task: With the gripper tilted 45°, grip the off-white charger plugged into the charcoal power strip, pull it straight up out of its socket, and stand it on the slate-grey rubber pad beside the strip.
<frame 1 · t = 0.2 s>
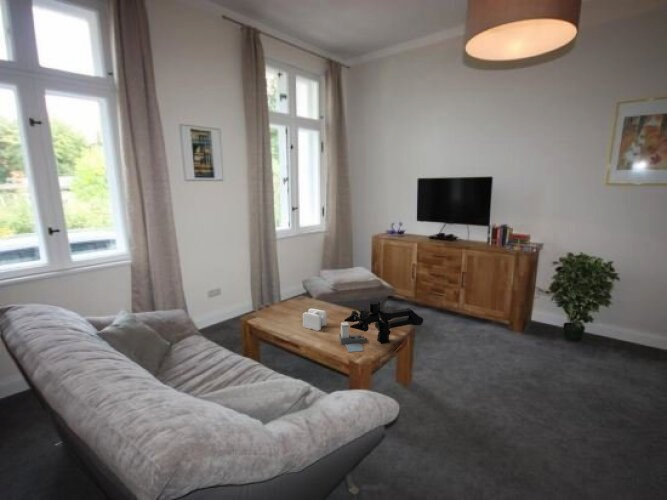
hand: (347, 323, 215), 16 cm above the table, tool horizontal, fingers open, 9 cm apart
charger: (345, 338, 226), point 2 cm above the table, touching power strip
cable organizer: (314, 327, 249), on the table
rubber pad: (354, 347, 219), on the table
power strip: (352, 341, 227), on the table
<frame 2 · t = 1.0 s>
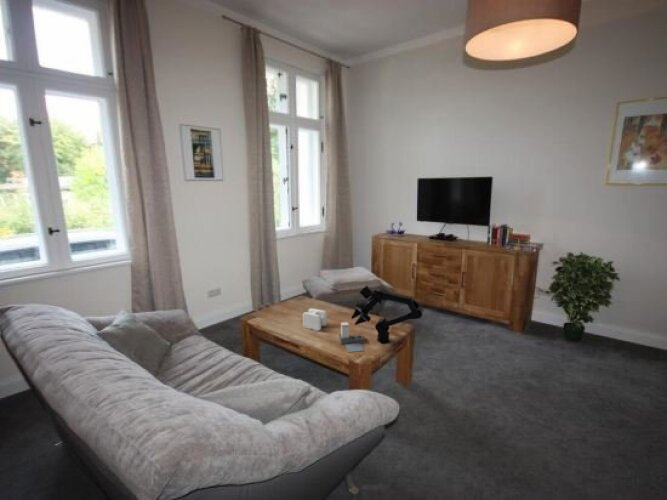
hand: (353, 321, 224), 14 cm above the table, tool tilted 45°, fingers open, 9 cm apart
nothing on the table moved.
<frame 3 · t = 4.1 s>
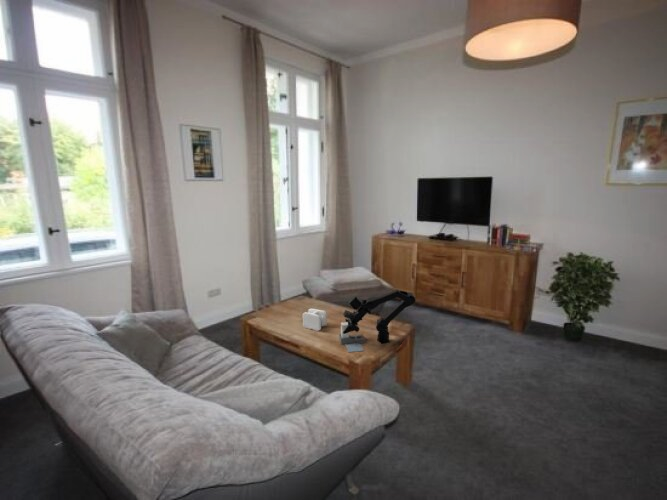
hand: (342, 331, 225), 7 cm above the table, tool tilted 45°, fingers closed on charger, 4 cm apart
charger: (345, 338, 226), point 2 cm above the table, touching gripper, power strip
everything else where it was.
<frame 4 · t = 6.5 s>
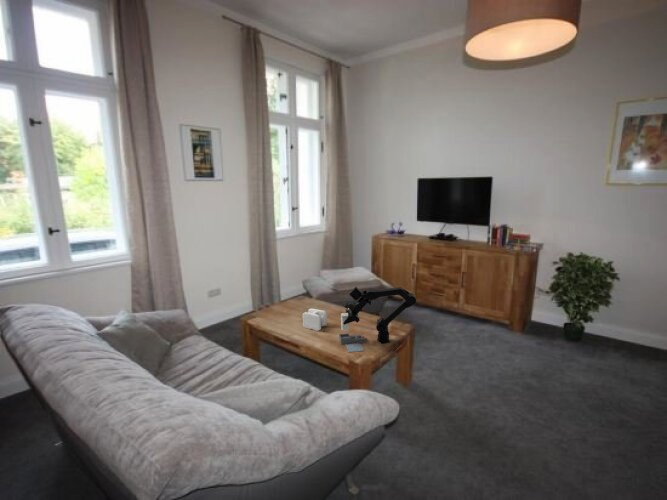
hand: (342, 322, 223), 13 cm above the table, tool tilted 45°, fingers closed on charger, 4 cm apart
charger: (345, 329, 225), point 9 cm above the table, touching gripper
everything else where it was.
when the fingers open (7 cm above the table, at t = 9.0 s): charger drops 2 cm, resting on rubber pad.
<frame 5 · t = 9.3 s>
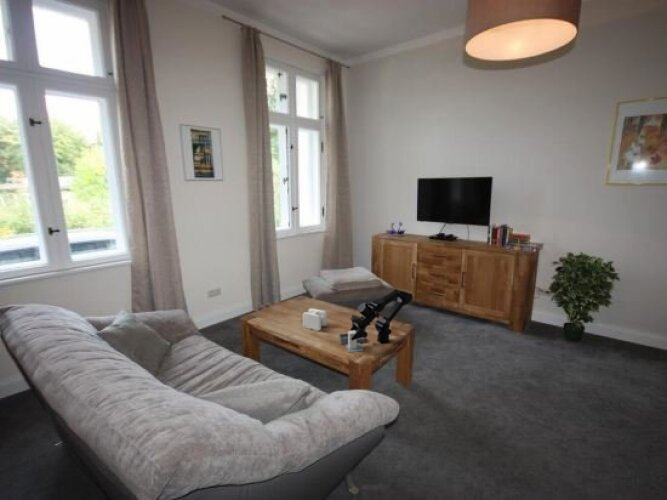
hand: (350, 337, 217), 7 cm above the table, tool tilted 45°, fingers open, 7 cm apart
charger: (352, 346, 219), resting on rubber pad
everything else where it was.
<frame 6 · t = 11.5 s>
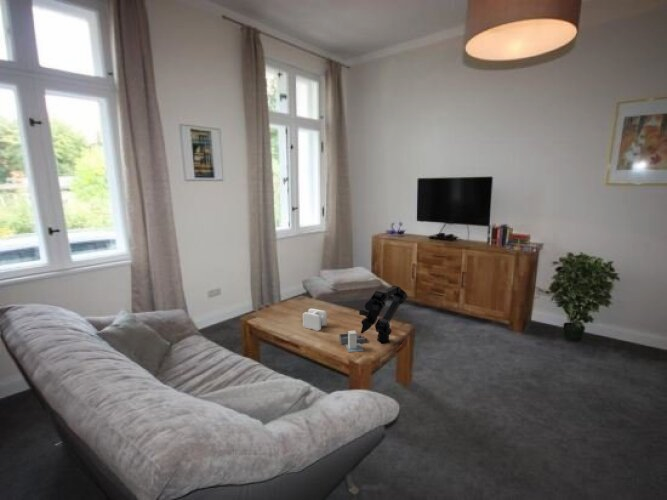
hand: (363, 331, 220), 9 cm above the table, tool tilted 30°, fingers open, 9 cm apart
nothing on the table moved.
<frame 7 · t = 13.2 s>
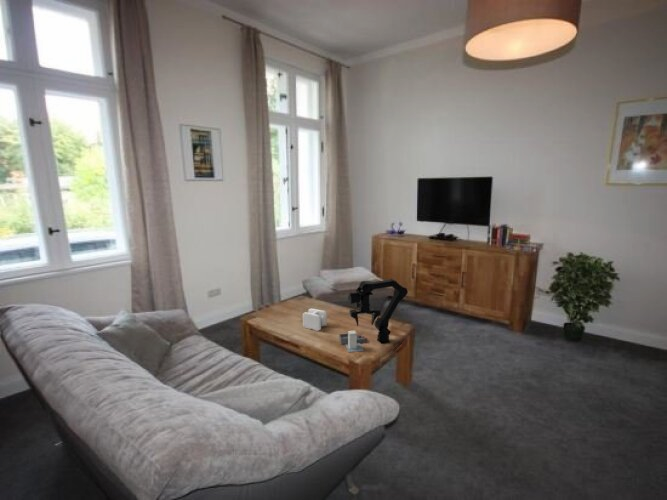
hand: (364, 325, 220), 13 cm above the table, tool pointing down, fingers open, 9 cm apart
nothing on the table moved.
at the end: charger inside the target area (0.7 cm from its centre), resting on rubber pad; charger tilted 0°; the gripper is holding nothing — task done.
